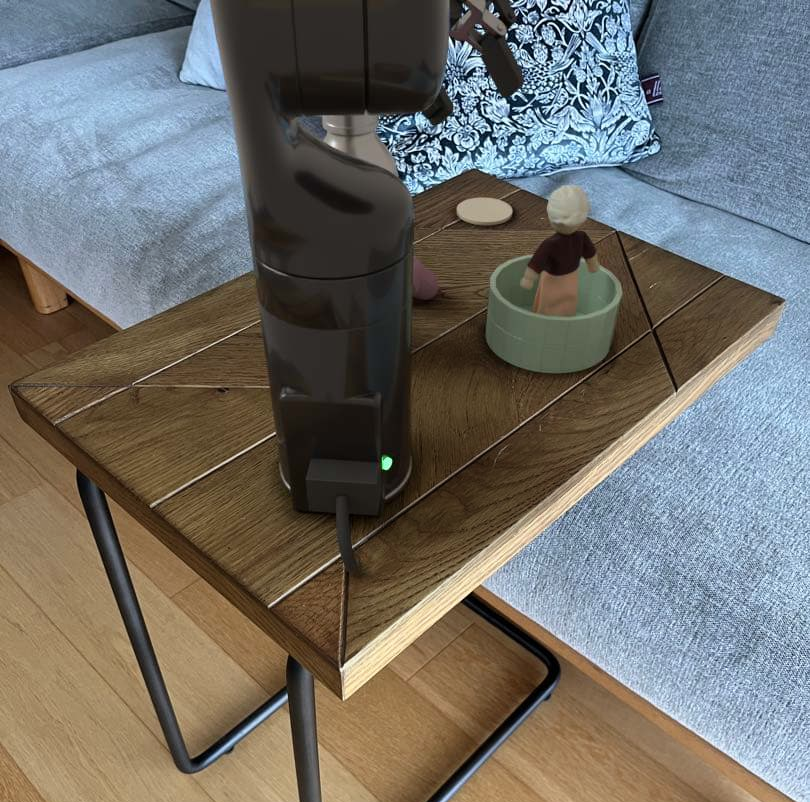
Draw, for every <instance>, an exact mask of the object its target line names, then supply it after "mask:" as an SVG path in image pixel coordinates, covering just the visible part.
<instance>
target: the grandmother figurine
mask: <svg viewBox="0 0 810 802" xmlns="http://www.w3.org/2000/svg"><path fill="white" fill-rule="evenodd" d="M549 196H550V197H549V199H548V201H547V205H546V211H547V218H548V220H549V222H550V226H551V228H552V230H554V231H555V233H554V234H552V235H551V236H549V237H547V238H545V239H544V240H543V241H542V242H541V243H540V244H539V245H538V247H537V248H536V250H535V251H534V253H533V254H532V255H533V256H532V258H531V259H530V261H529V263H528V265H527V269H526V271H525V274H524V278H523V279H522V280H521V281H520V287H521V288H522V289H523V290H530V289H531V288H532V286H533V282H534V281H535V280H536V278H537V276H538V275H539V274H540V273H541V272H542V274H541V278H540V282H539V286H538V290H537V293H536V297H535V301H534V305H533V310H532V312H533V313H537V314H542V315H546V316H559V317H572V316H576V310H577V303H578V272H577V269H578V267H579V265H580V260H581V258H583V259H584V260H585V262H586V264H587V269H588V271H589V272H591V273H595V272H597V271H598V270H599V267H600V265H601V264H600V262H599V261H598V254H597V248H596V246H595V245H594V243H593V241H592V240H591V239H592V238H590V236H589V235H588V233H587V232H586V231H584V230H579V228H581V226H582V224H584V223H585V222H586V221H587V219H588V217H589V213H590V212H591V209H592V205H591V204H590V201H589V197H588V194H586V192H585V191H584V189H583V188H582V187H581V186H580V185H577V184H566V185H565V184H563V185H561V186H560V187H559V188H556V189H555V190H554V191H552V193H551V194H550V195H549Z"/></svg>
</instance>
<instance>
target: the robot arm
mask: <svg viewBox="0 0 810 802" xmlns="http://www.w3.org/2000/svg"><path fill="white" fill-rule="evenodd" d="M209 4H210V10H211V16H212V23H213V28H214V34H215V40H216V44H217V45H216V46H217V50H218V56H219V61H220V65H221V70H222V75H223V81H224V86H225V90H226V96H227V101H228V105H229V110H230V116H231V122H232V127H233V133H234V139H235V144H236V151H237V157H238V165H239V170H240V171H239V172H240V178H241V185H242V192H243V200H244V207H245V215H246V222H247V223H246V224H247V230H248V231H247V232H248V239H249V246H250V252H251V259H252V266H253V274H254V282H255V288H256V297H257V306H258V312H259V320H260V327H261V335H262V342H263V343H262V344H263V349H264V356H265V364H266V370H267V378H268V386H269V387H268V388H269V392H270V399H271V408H272V415H273V422H274V430H275V437H276V443H277V450H278V451H277V452H278V458H279V465H278V467H279V475H280V480H281V483H282V486H283V487H284V489H285V491H286V492H287V494H288V495H290V499H291V507H292V510H293V511H297V512H310V513H326V514H335V523H336V524H335V525H336V527H335V528H336V537H337V544H338V551H339V554H340V558H341V560H342V563H343V566H344V569H345V571H346V572H348V573H352V572H355V571H356V570H358V569H359V565H358V563H357V559H356V555H355V553H354V549H353V545H352V539H351V529H350V515H356V516H370V517H371V516H372V517H381V516H383V514H384V509H385V506H386V505H387V504H389V503H390V502H392V501H393V500H395V499H396V498H397V497H398V496H400V495H401V494H402V492H403V491H404V490H405V489H406V487H407V486H408V484H409V482H410V480H411V477H412V474H413V473H412V472H413V471H412V470H413V457H412V376H413V375H412V371H413V370H412V367H413V365H412V361H413V298H414V297H413V257H414V249H415V248H414V247H415V246H414V240H415V208H414V207H415V205H414V201H413V197H412V194H411V191H410V190H409V189H410V188H408V186H407V185H406V183H405V182H404V181H403V180H402V179H401V178H400V176H399V177H397V176H396V175H395V174H393V173H392V172H390V171H389V170H387V169H385V168H383V167H381V166H379V165H377V164H374V163H371V162H369V161H366V160H363V159H361V158H358V157H355V156H353V155H350V154H348V153H345V152H343V151H340V150H338V149H336V148H334V147H332V146H330V145H329V144H327V143H325V142H324V141H323V139H321V138H319V137H318V136H316V135H315V134H314V133H313V132H311V131H310V130H309V129H308V128H307V127H306V126H304V125H303V124H302V122H301V121H300V120H299V118H304V117H305V118H317V117H321V118H323V117H326V116H364V115H365V111H366V114H367V115H368V116H376V115H378V116H397V115H398V116H400V115H411V114H416V113H420V112H421V114H422V116H423V117H425V119H426V120H427V121H428V122H429V123H430V125H431V126H433V127H436V126H439V125H441V124H443V123H444V122H445V121H446V120H447V119H448V118H449V117H450V116H451V115H452V114H453V113H454V108H455V106H454V103H453V100H451V97H450V96H449V93H448V91H447V90H446V88H445V87H444V84H443V83H444V79H445V75H446V69H447V63H448V54H449V45H450V43H449V42H450V41H449V40H450V37H451V38H452V39H453V40H455V41H457V42H462V41H464V42H466V43H467V44H468V45H470V46H471V47H472V48H473V49H475V51H477V52H479V53H480V54H481V55H482V56H481V57H480V59H481V61H482V63H483V65H484V66H485V69H486V71H487V72H488V75H489V76H490V78H491V81H492V83H493V84H494V86H495V88H496V89H497V92H498V93H499V96H500V97H501V98H503V99H507V98H509V97H511V96H513V95H515V93H516V92H518V90H520V89H521V88H522V87H523V86H524V84H525V77H524V74H523V71H522V68H521V67H520V64H519V63H518V60H517V59H516V57H515V55H514V53H513V50H512V49H511V47H510V45H509V43H508V41H507V37H506V34H507V32H508V31H509V30H510V29H511V27H513V25H514V24H516V22H517V20H518V19H517V14H516V12H515V11H514V9H513V7H512V5H511V4H510V2H509V0H209ZM491 5H493V8H494V9H495V10H496V12H497V14H498V17H497V16H496V15H494V14H493V13H492V12H491V11H490V6H491ZM464 6H465V7H466V8H468V11H467V12H466V13H465V14H464V15H463V9H464ZM462 15H463V17H462ZM476 25H480V26H481V28H482V30H483V32H484V33H483V34H482V33H481V32H480V31H479V30H477V29H476V28H475V26H476Z"/></svg>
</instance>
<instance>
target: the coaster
mask: <svg viewBox="0 0 810 802" xmlns="http://www.w3.org/2000/svg"><path fill="white" fill-rule="evenodd" d="M513 211H514V209H513V208H512V206H511V205H510V204H509V203H507V202H505V201H503V200H501V199H498V198H494V197H493V198H492V197H472V198H468V199H465V200H463V201H461V202H460V203H458V205H457V206H456V215H457V217H458V218H459V219H461V220H462V221H464V222H466V223H468V224H472V225H477V226H497V225H500V224H504V223H506V222H508V221H510V220H511V218H512V216H513Z"/></svg>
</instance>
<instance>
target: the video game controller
mask: <svg viewBox="0 0 810 802" xmlns="http://www.w3.org/2000/svg"><path fill="white" fill-rule="evenodd" d="M438 290H439V279H438V276H437V274H436V273H435V272H433V271H432V270H430V269H429V268H427V267H426V266H425V265H424V264H423V263H422V261H420V260H419V259H418V258H416V257H415V256H413V298H416V299H417V300H422V301H428V300H431V299H433V298H434V297H435V296H436V295H437V294H438Z"/></svg>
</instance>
